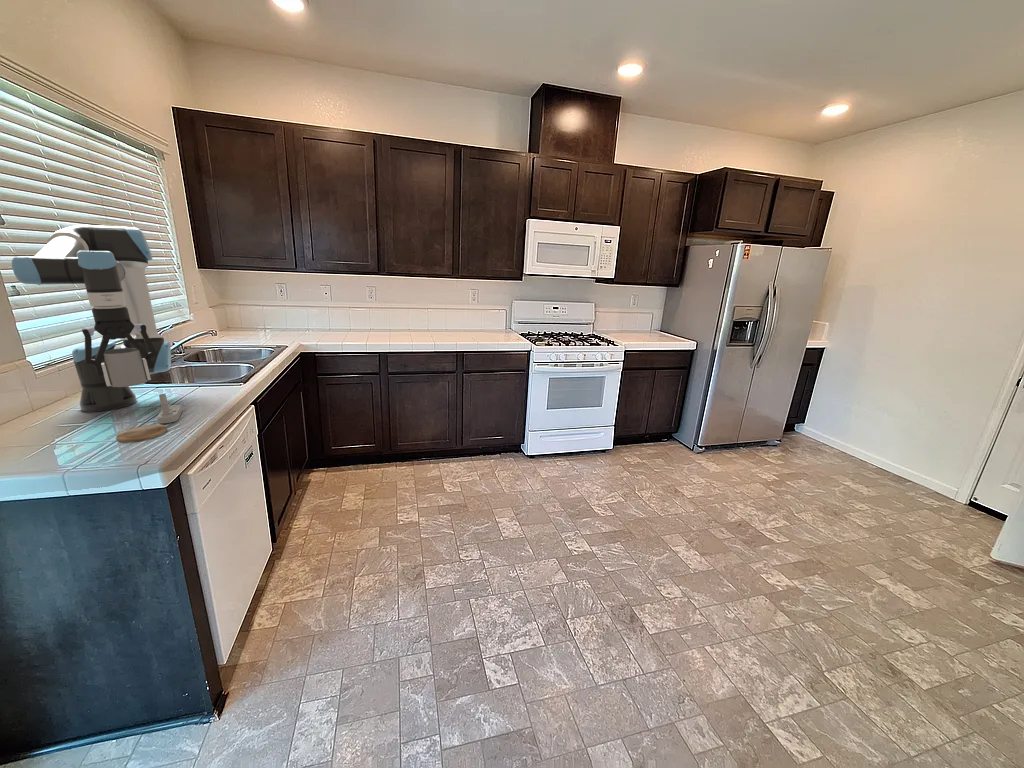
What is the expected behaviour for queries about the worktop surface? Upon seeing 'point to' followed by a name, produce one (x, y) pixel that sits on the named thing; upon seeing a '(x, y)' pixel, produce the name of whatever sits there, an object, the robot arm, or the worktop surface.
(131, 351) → the cup
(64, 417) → the worktop surface
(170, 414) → the electronic device
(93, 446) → the worktop surface
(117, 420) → the worktop surface
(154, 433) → the plate
